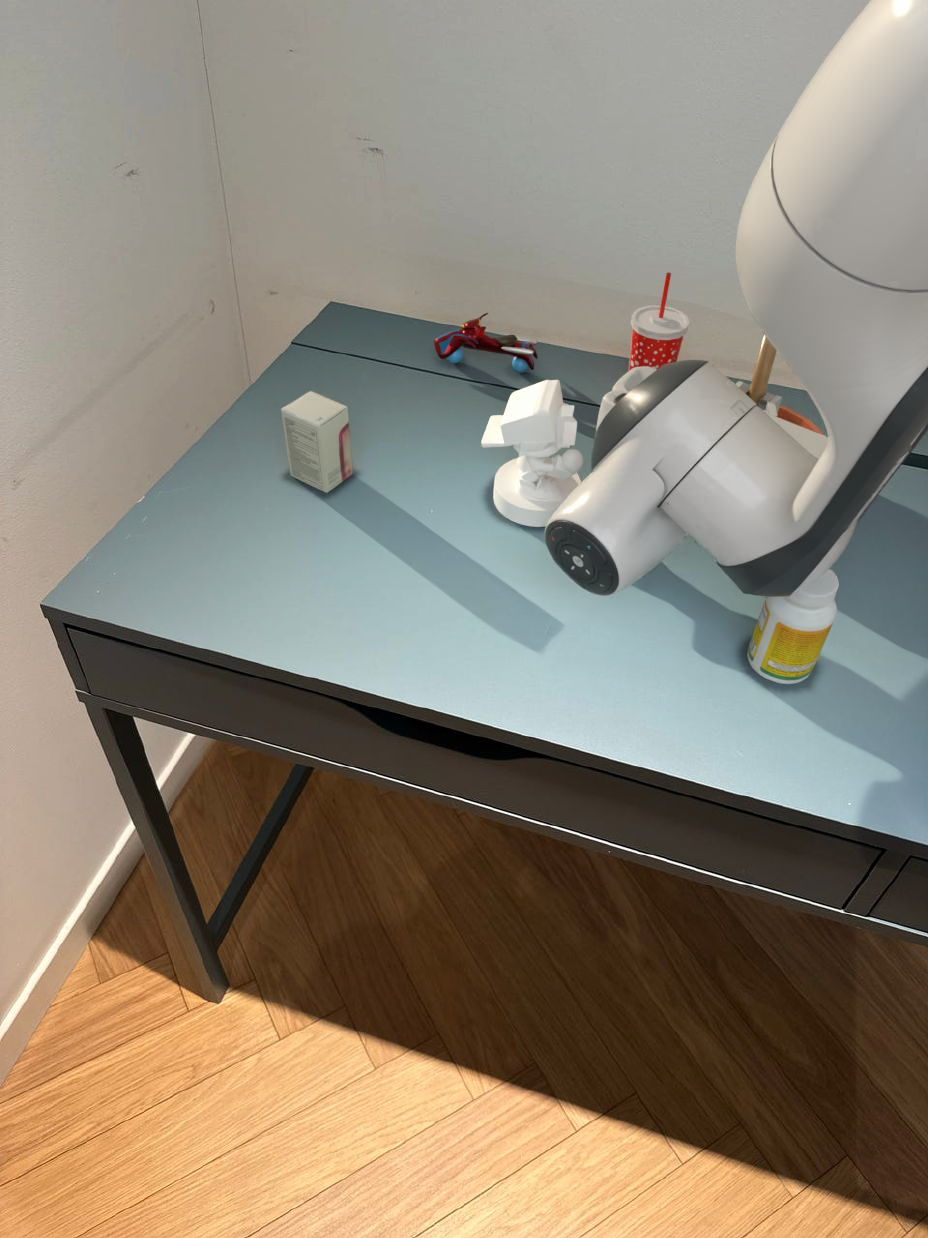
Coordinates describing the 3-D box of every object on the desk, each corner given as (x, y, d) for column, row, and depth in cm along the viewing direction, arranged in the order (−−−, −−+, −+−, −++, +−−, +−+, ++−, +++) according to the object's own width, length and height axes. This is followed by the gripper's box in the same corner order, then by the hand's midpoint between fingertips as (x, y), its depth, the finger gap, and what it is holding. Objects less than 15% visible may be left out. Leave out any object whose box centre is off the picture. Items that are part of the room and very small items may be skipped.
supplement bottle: (733, 650, 80) (761, 565, 74) (783, 631, 82) (815, 546, 75) (774, 695, 77) (807, 610, 70) (826, 674, 79) (863, 589, 72)
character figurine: (572, 533, 91) (586, 425, 82) (474, 517, 92) (478, 409, 84) (584, 478, 97) (599, 372, 88) (492, 464, 98) (498, 359, 90)
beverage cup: (673, 410, 106) (698, 290, 96) (617, 403, 107) (636, 283, 97) (675, 381, 110) (699, 263, 100) (622, 374, 111) (641, 257, 101)
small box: (355, 473, 96) (350, 406, 91) (326, 495, 94) (319, 426, 88) (317, 455, 98) (310, 388, 93) (288, 475, 96) (279, 407, 90)
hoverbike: (439, 347, 114) (439, 303, 110) (538, 362, 112) (542, 317, 108) (428, 369, 111) (428, 324, 107) (530, 385, 109) (534, 339, 105)
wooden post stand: (765, 484, 95) (818, 310, 82) (745, 511, 92) (797, 334, 79) (716, 466, 97) (760, 293, 84) (695, 492, 94) (737, 316, 81)
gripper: (811, 483, 73) (880, 406, 81) (587, 388, 82) (668, 328, 90) (789, 546, 78) (857, 468, 85) (579, 450, 86) (657, 387, 94)
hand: (759, 395), depth 88 cm, fingers closed on wooden post stand
